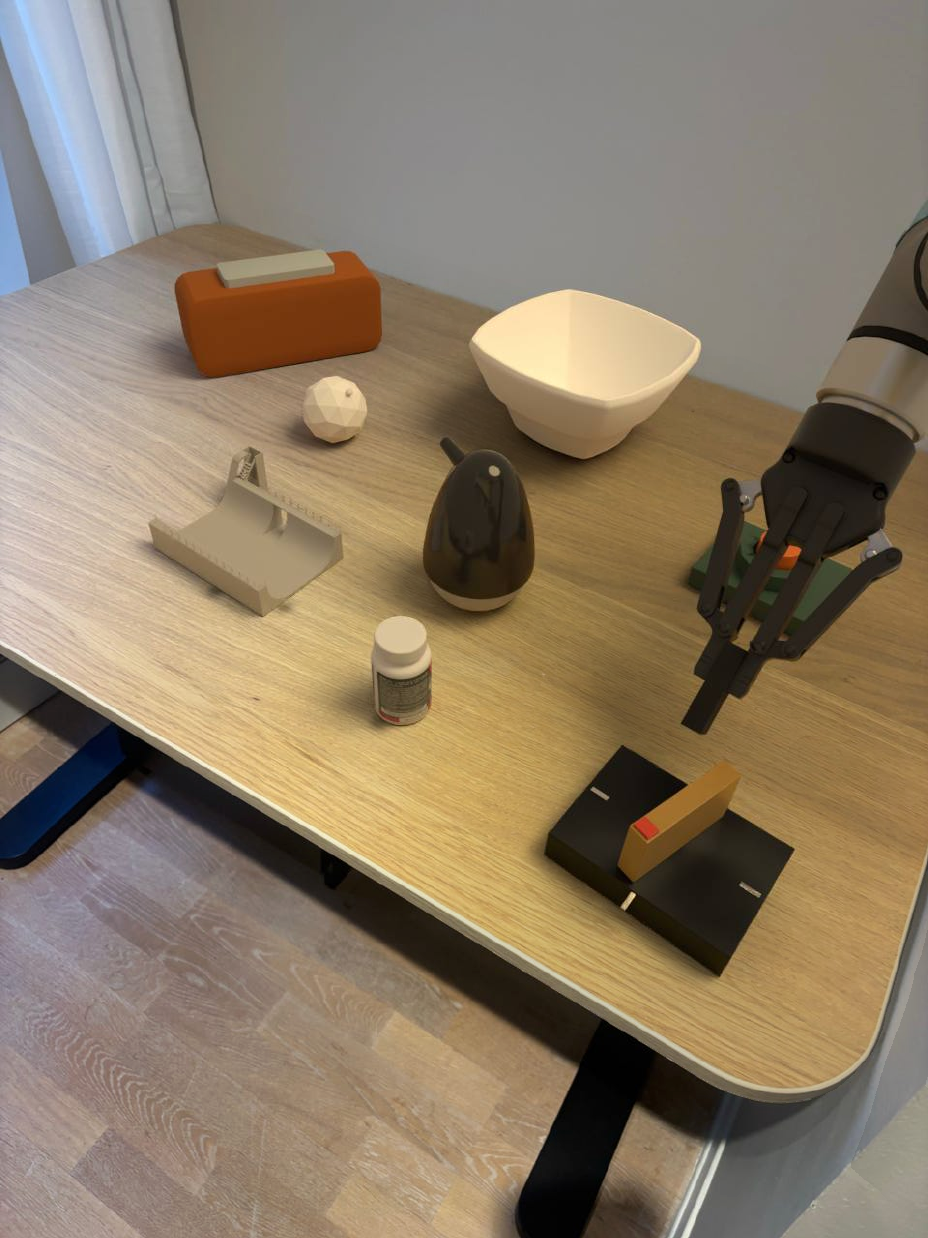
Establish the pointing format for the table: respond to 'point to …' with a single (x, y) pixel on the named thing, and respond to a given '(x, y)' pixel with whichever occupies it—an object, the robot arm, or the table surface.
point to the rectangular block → (677, 820)
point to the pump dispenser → (479, 531)
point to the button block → (772, 579)
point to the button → (785, 556)
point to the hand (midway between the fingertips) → (693, 729)
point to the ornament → (334, 409)
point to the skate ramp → (252, 541)
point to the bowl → (581, 367)
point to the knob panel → (669, 862)
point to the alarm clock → (278, 311)
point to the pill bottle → (401, 670)
